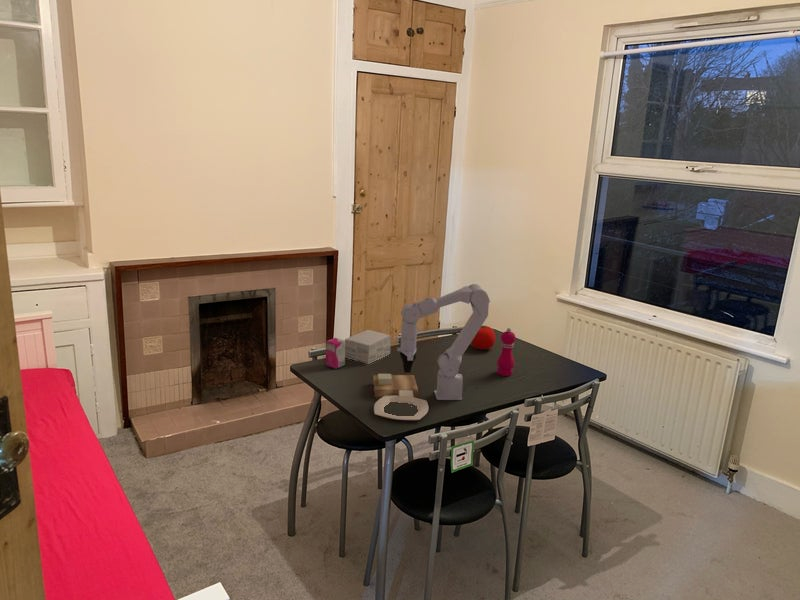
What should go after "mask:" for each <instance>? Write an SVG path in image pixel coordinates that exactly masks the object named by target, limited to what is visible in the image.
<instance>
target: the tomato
mask: <svg viewBox="0 0 800 600" xmlns="http://www.w3.org/2000/svg"><path fill="white" fill-rule="evenodd" d="M495 343H496V333H495V331H494V330H493V328H492V327H490V326H487V325H482V326H481V327H480V329H479V331H478V332H477V334H476V335H475V337H474V338H473V340H472V341H471V343H470V345H471V346H472V347H473V348H475V349H476V350H477V349H478V350H489V349H491V348H493V347H494V345H495Z"/></svg>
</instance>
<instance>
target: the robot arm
mask: <svg viewBox="0 0 800 600" xmlns="http://www.w3.org/2000/svg"><path fill="white" fill-rule="evenodd" d="M490 301H491V300H490V297H489V295H488V292H486V291H485V290H484V289H483V288H482V286H480V285H478V284H475V283H473V284H469V285H465V286H463V287H461V288H459V289H458V290H454V291H451V292H450V293H447V294H445V295H443V296H440V297H437V298H434V297H431V296H430V297H429V296H425V298H424V299H423V300H420V301H418V302H416V301H413V302H412V304H410V303H407V304H405V305H404V306H403V307H402V308H401V310H400V314H401V316H402V319H401V320H402V321H401V332H400V347H396V348H397V349H396V350H397V352H400V353H399V355H400V358H401V360H402V366H403V372H404V373H406V374H407V373H409V374H410V373H411V371H412V367H413V364H414V361H415V360H416V358H417V355H416V353H417V350H418V349H417V339H418V338H417V337H418V336H417V334H418V321H419V319H421V318H424V317H427V316H429V315H433V314H435V313H437V312H438V311H439V309H440V308H443V307H446V306H449V305H452V304H456V303H458V302H459V303H460V302H461V303H465V304H467V305H470V306H471V309H472V313H471V315H470V317H469V318H468V319H467V321H466V323H465V325H464V326H463V327H462V329H461V331H460V332H459V333H458V335H457V336H456V339H455V340H454V342H453V343H452V345H451V346H450V347H448V348H446V349H445V351H444V353H441V354H440V355H439V356H438V358H437V365H438V367H439V370H437V376H436V377H437V379H436V380H437V381H436V390H434V391H433V392H434V395H435V399H436V400H438V401H462V400H463V397H462V396H463V387H464V386H463V385H464V384H463V383H464V382H463V381H464V379H463V374H461V373H458V372H459V369H460V365H461V364H462V360H463V355H465V354H464V353H465V352H466V351H467V350H468V347H469V346H470V345H471V341H472V340H473V338H474V337H475V335H476V334H477V332H478V331H479V329H480V327H481V326H483V324H484V323H485V322H486V320H487V318H488V317H489V304H490Z"/></svg>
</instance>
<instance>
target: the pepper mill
mask: <svg viewBox="0 0 800 600" xmlns="http://www.w3.org/2000/svg"><path fill="white" fill-rule="evenodd" d="M516 337H517V336H516V334H515V333H514V332H512V329H511V328H510V327H507V328H506V330H505V331H503V332H502V333H501V334H500V340H501V348H502V349H501V354H500V355H499V357H498V359H497V361H496V365H497V367H498V368H497V371H496V372H497V374H498V376H499V375H500V376H504V377H510V376H512V375H513V372H514V371H513V368H514V367H515V359H514V356H513V348H514V345H515V344H514V343H515V341H516Z"/></svg>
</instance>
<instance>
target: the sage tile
mask: <svg viewBox="0 0 800 600" xmlns="http://www.w3.org/2000/svg"><path fill="white" fill-rule="evenodd" d="M377 375H378V384H379V385H392V376H391V375H392V374H391V373H378V374H377Z"/></svg>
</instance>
